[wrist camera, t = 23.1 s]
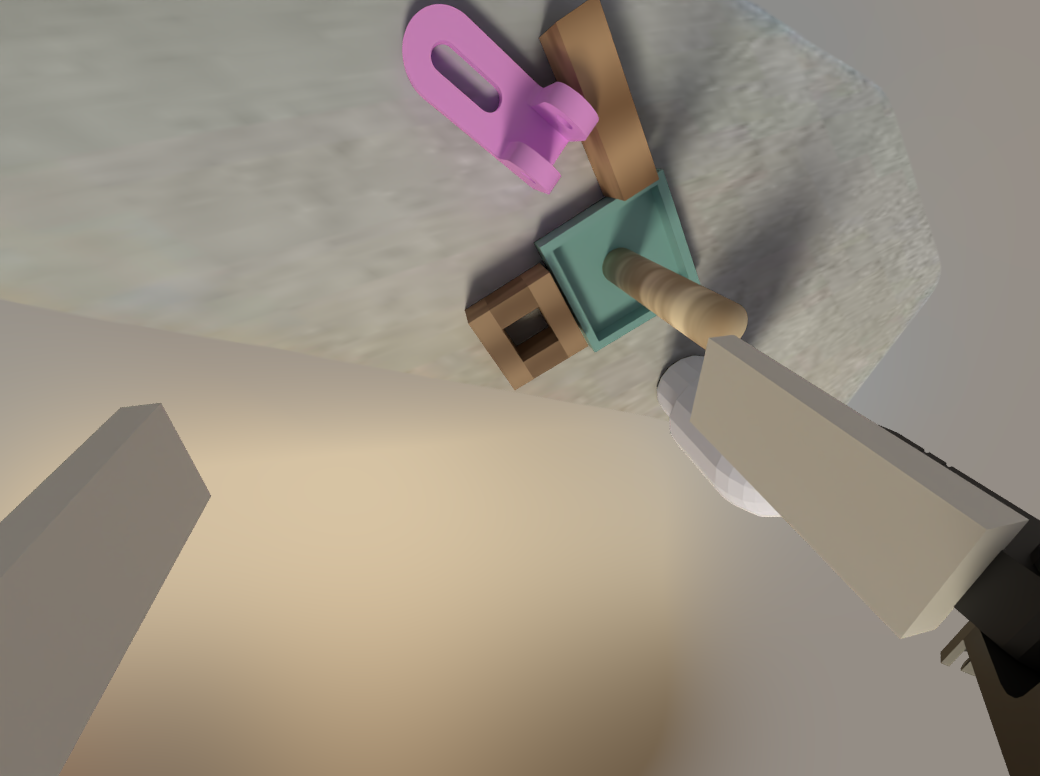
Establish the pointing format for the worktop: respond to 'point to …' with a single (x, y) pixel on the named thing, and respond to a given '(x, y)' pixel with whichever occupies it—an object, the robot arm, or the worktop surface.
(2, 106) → the worktop surface
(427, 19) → the bracket
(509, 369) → the socket block
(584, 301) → the tray
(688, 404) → the soap bottle
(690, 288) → the dowel
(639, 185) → the block
